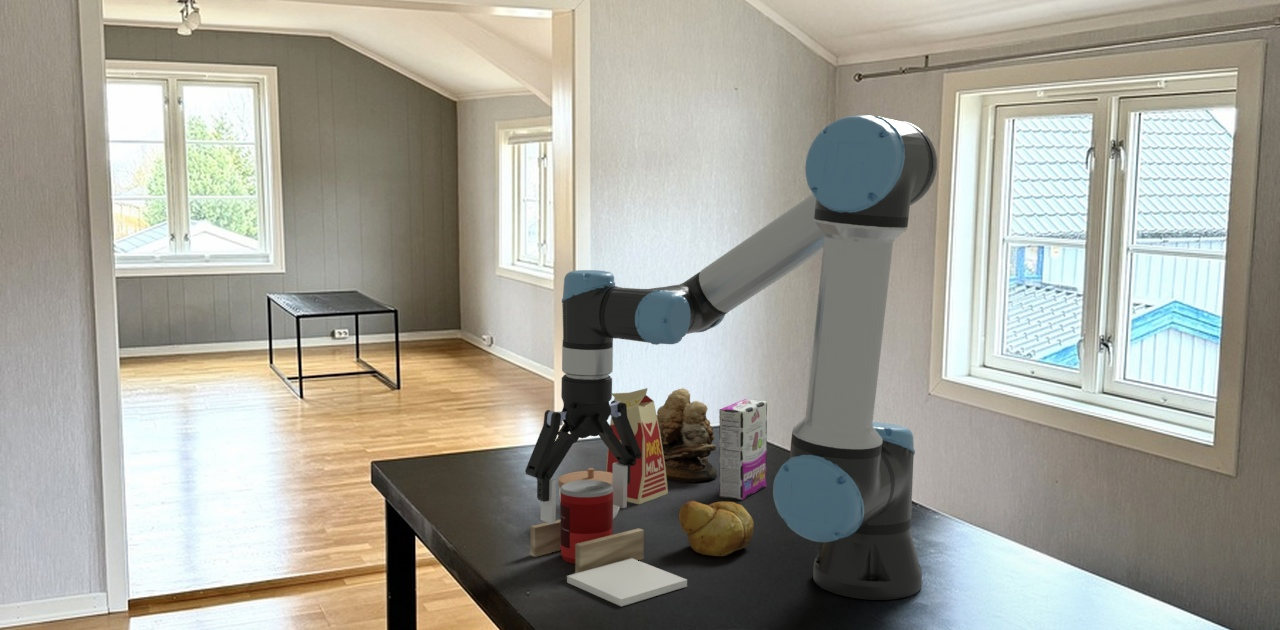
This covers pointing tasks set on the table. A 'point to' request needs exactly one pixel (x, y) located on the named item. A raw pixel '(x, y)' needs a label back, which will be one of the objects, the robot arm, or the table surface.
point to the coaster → (626, 581)
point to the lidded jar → (588, 476)
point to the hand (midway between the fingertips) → (584, 513)
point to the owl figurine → (686, 438)
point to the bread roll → (716, 527)
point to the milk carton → (642, 448)
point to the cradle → (588, 546)
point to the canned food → (584, 514)
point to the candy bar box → (743, 448)
